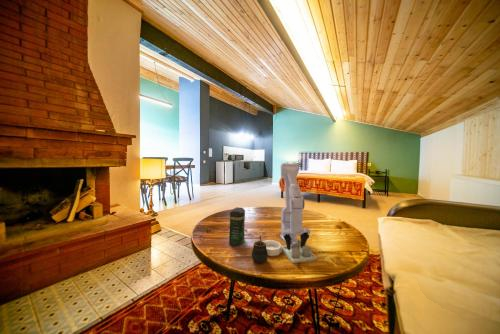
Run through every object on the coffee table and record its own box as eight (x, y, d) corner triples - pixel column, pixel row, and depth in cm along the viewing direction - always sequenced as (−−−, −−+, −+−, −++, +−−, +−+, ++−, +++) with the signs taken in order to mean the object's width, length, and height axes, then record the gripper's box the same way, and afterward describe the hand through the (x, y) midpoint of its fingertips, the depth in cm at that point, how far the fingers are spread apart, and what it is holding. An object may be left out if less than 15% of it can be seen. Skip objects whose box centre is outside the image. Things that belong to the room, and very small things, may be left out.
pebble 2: (300, 254, 89) (301, 246, 89) (307, 253, 90) (307, 245, 90) (304, 258, 86) (305, 249, 86) (311, 257, 87) (312, 249, 86)
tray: (280, 249, 95) (281, 246, 95) (302, 247, 98) (302, 244, 98) (292, 263, 82) (292, 260, 82) (316, 260, 85) (316, 256, 85)
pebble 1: (290, 255, 88) (290, 247, 88) (297, 254, 89) (297, 246, 89) (293, 259, 84) (293, 251, 84) (300, 258, 85) (301, 250, 85)
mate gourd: (252, 265, 80) (252, 242, 80) (250, 256, 88) (250, 235, 88) (269, 264, 81) (269, 242, 81) (265, 256, 89) (266, 235, 88)
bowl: (258, 246, 97) (258, 241, 97) (276, 244, 100) (276, 239, 100) (264, 256, 88) (264, 250, 88) (284, 254, 90) (284, 248, 90)
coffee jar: (241, 246, 97) (242, 211, 96) (227, 245, 99) (227, 210, 98) (246, 238, 107) (246, 206, 106) (232, 237, 108) (233, 205, 107)
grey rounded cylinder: (290, 249, 94) (290, 241, 94) (297, 248, 95) (297, 241, 95) (293, 253, 90) (294, 244, 90) (300, 252, 91) (300, 244, 91)
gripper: (286, 225, 86) (285, 254, 87) (313, 223, 90) (313, 250, 90) (280, 220, 93) (279, 246, 94) (306, 218, 96) (305, 244, 97)
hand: (295, 248), depth 93 cm, fingers open, 7 cm apart
